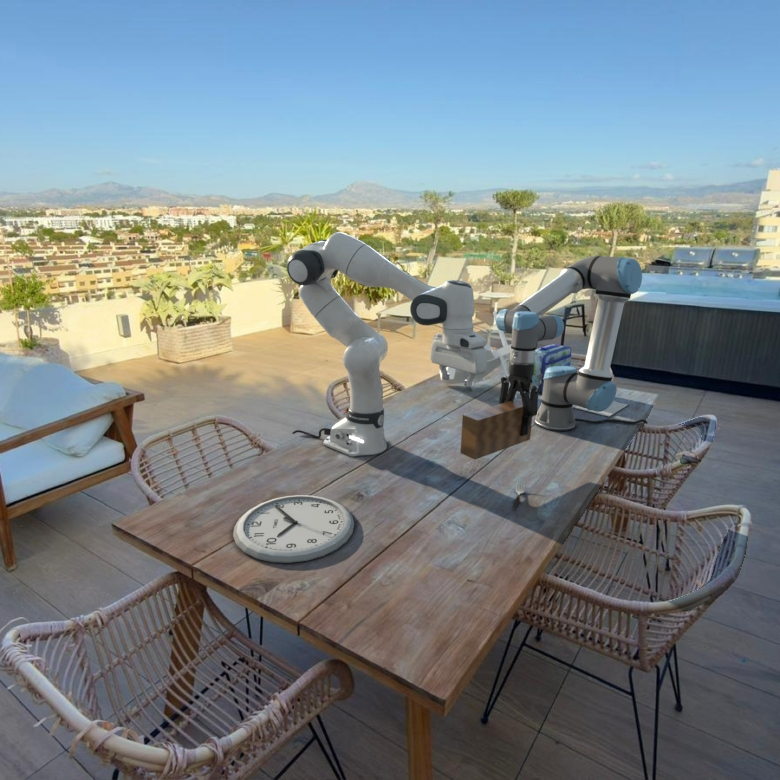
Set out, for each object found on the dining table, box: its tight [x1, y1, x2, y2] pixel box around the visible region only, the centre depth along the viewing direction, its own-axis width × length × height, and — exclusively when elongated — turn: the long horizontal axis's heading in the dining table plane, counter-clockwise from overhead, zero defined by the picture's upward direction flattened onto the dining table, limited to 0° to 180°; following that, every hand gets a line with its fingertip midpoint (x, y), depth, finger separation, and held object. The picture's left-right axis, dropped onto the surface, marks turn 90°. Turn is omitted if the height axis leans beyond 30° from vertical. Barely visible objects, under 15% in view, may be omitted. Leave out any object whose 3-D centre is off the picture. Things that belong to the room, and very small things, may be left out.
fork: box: [514, 479, 527, 511], centre depth 147 cm, size 3×16×2 cm, turn 160°
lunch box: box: [529, 343, 572, 394], centre depth 247 cm, size 26×11×21 cm, turn 134°
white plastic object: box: [438, 310, 530, 400], centre depth 245 cm, size 37×45×31 cm
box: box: [459, 398, 533, 461], centre depth 162 cm, size 26×6×12 cm, turn 128°
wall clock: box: [232, 494, 355, 564], centre depth 132 cm, size 30×2×30 cm
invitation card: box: [573, 400, 629, 418], centre depth 226 cm, size 21×1×15 cm
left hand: (456, 382), depth 157 cm, fingers open, 8 cm apart
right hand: (515, 431), depth 169 cm, fingers closed on box, 6 cm apart
